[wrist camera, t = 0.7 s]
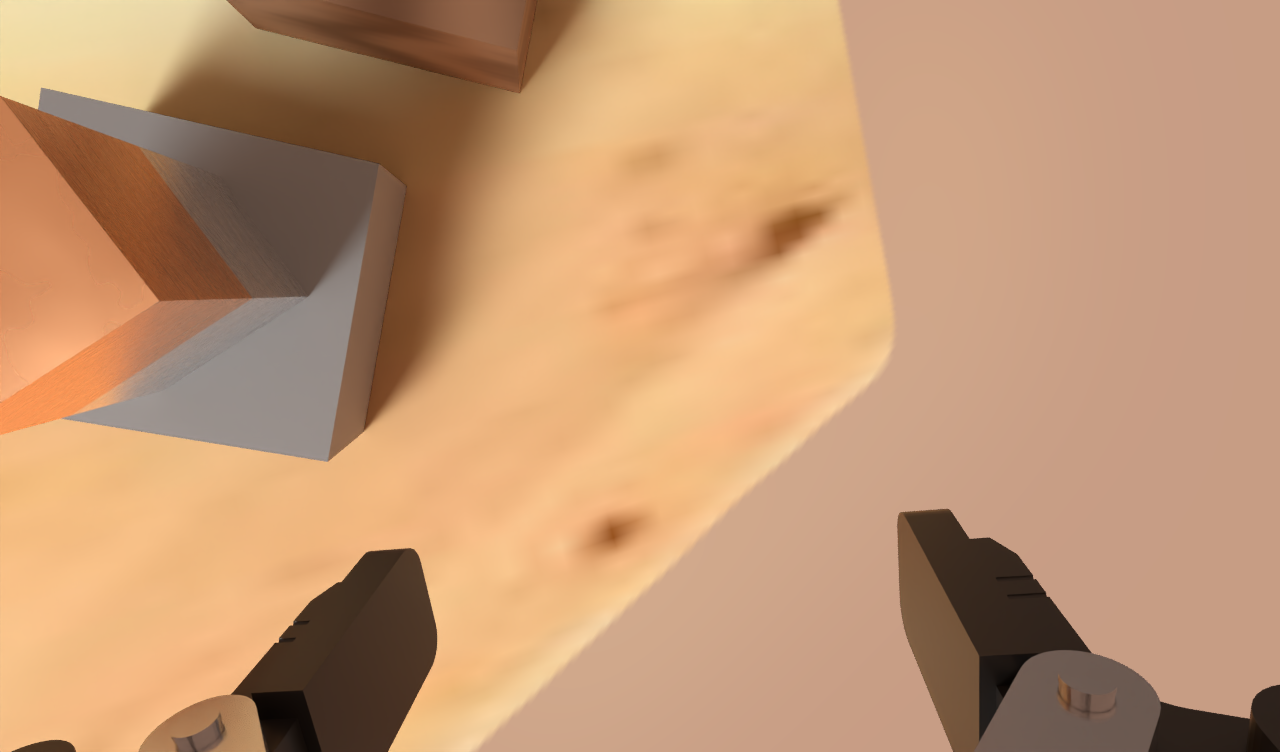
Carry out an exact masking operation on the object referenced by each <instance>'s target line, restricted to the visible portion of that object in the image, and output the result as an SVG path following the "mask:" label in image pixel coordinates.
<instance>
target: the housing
mask: <svg viewBox="0 0 1280 752" xmlns="http://www.w3.org/2000/svg"><path fill="white" fill-rule="evenodd" d="M307 297H308V295H307V294H306V293H305V291H304V290H303V289H302V287H301V286H300V285H299V283H298V282H297V280H296V279H295V278H294V276H293V275H292V274H291V272H290V271H289V270H288V268H287V267H286V266H285V264H284V263H283V261H282V260H281V259H280V257H279V256H278V255H277V253H276V252H275V251H274V249H273V248H272V247H271V245H270V244H269V242H268V241H267V240H266V238H265V237H264V236H263V234H262V233H261V232H260V230H259V229H258V228H257V226H256V225H255V223H254V222H253V221H252V219H251V218H250V217H249V215H248V214H247V213H246V211H245V210H244V209H243V207H242V206H241V204H240V203H239V202H238V200H237V199H236V198H235V196H234V195H233V194H232V192H231V191H230V190H229V188H228V187H227V185H226V184H225V183H224V181H223V180H222V179H221V177H220V176H219V175H216V174H213V173H210V172H208V171H205V170H202V169H199V168H197V167H194V166H191V165H188V164H186V163H183V162H180V161H177V160H175V159H172V158H169V157H166V156H164V155H161V154H158V153H155V152H153V151H150V150H147V149H144V148H142V147H139V146H136V145H133V144H131V143H128V142H125V141H122V140H120V139H117V138H114V137H111V136H109V135H106V134H103V133H100V132H98V131H95V130H92V129H89V128H87V127H84V126H81V125H78V124H76V123H73V122H70V121H67V120H65V119H62V118H59V117H57V116H54V115H51V114H48V113H46V112H43V111H40V110H37V109H35V108H32V107H29V106H26V105H24V104H21V103H18V102H15V101H13V100H10V99H7V98H4V97H2V96H0V435H1V434H5V433H9V432H12V431H16V430H20V429H23V428H27V427H31V426H34V425H38V424H42V423H45V422H49V421H53V420H56V419H60V418H64V417H67V416H71V415H75V414H79V413H82V412H86V411H90V410H93V409H97V408H101V407H104V406H108V405H112V404H115V403H119V402H123V401H126V400H130V399H134V398H137V397H141V396H145V395H148V394H152V393H156V392H159V391H163V390H165V389H167V388H168V387H170V386H172V385H173V384H175V383H176V382H178V381H179V380H181V379H182V378H184V377H185V376H187V375H189V374H190V373H192V372H193V371H195V370H196V369H198V368H199V367H201V366H202V365H204V364H205V363H207V362H209V361H210V360H212V359H213V358H215V357H216V356H218V355H219V354H221V353H222V352H224V351H225V350H227V349H229V348H230V347H232V346H233V345H235V344H236V343H238V342H239V341H241V340H242V339H244V338H245V337H247V336H249V335H250V334H252V333H253V332H255V331H256V330H258V329H259V328H261V327H262V326H264V325H265V324H267V323H269V322H270V321H272V320H273V319H275V318H276V317H278V316H279V315H281V314H282V313H284V312H285V311H287V310H289V309H290V308H292V307H293V306H295V305H296V304H298V303H299V302H301V301H302V300H304V299H305V298H307Z"/></svg>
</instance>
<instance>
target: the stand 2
mask: <svg viewBox="0 0 1280 752" xmlns="http://www.w3.org/2000/svg"><path fill="white" fill-rule="evenodd" d="M227 1H228V2H229V3H230V4H231V5H232V6H233V7H234V8H235V9H236V10H237V11H238V12H239V13H240V14H242V15H243V16H244V17H245V18H246V19H247V20H248V21H249V22H250V23H251V24H252V25H253V26H254V27H255V28H258V29H262V30H266V31H270V32H274V33H278V34H282V35H286V36H290V37H294V38H298V39H302V40H306V41H310V42H314V43H318V44H322V45H326V46H331V47H335V48H339V49H343V50H347V51H351V52H355V53H359V54H363V55H367V56H371V57H375V58H379V59H383V60H387V61H391V62H395V63H399V64H403V65H408V66H412V67H416V68H420V69H424V70H428V71H432V72H436V73H440V74H444V75H448V76H452V77H456V78H460V79H464V80H468V81H472V82H476V83H480V84H484V85H489V86H493V87H497V88H501V89H505V90H509V91H513V92H517V93H520V89H521V84H522V79H523V73H524V68H525V62H526V57H527V52H528V46H529V41H530V36H531V30H532V25H533V20H534V14H535V9H536V3H537V0H227Z"/></svg>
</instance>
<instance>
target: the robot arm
mask: <svg viewBox="0 0 1280 752" xmlns="http://www.w3.org/2000/svg"><path fill="white" fill-rule="evenodd" d="M897 528H898V555H899V556H898V558H899V586H900V587H899V588H900V606H901V613H902V619H903V624H904V629H905V632H906V636H907V639H908V642H909V644H910V647H911V649H912V651H913V654H914V656H915V659H916V661H917V664H918V666H919V668H920V671H921V674H922V676H923V678H924V681H925V683H926V685H927V688H928V690H929V693H930V696H931V698H932V701H933V703H934V705H935V708H936V710H937V712H938V715H939V718H940V720H941V722H942V725H943V727H944V730H945V733H946V735H947V737H948V740H949V742H950V745H951V747H952V750H953V752H1280V685H1276V686H1271V687H1269V688H1266V689H1264V690H1262V691H1261V692H1259V693H1258V694H1257V695H1256V696H1255V698H1254V699H1253V702H1252V706H1251V714H1250V719H1247V718H1240V717H1235V716H1229V715H1223V714H1217V713H1211V712H1205V711H1199V710H1193V709H1187V708H1182V707H1178V706H1174V705H1170V704H1167V703H1163V702H1160V700H1159V698H1158V695H1157V693H1156V692H1155V690H1154V689H1153V687H1152V686H1151V685H1150V684H1149V683H1148V682H1147V681H1146V680H1145V679H1144V678H1143V677H1142V676H1140V675H1139V674H1138V673H1136V672H1135V671H1133V670H1132V669H1130V668H1128V667H1127V666H1125V665H1123V664H1121V663H1119V662H1116V661H1114V660H1112V659H1109V658H1106V657H1103V656H1100V655H1096V654H1093V653H1091V651H1090V650H1089V649H1088V648H1087V646H1086V645H1085V644H1084V642H1083V641H1082V640H1081V638H1080V637H1079V636H1078V634H1077V633H1076V632H1075V630H1074V629H1073V628H1072V626H1071V625H1070V624H1069V622H1068V621H1067V620H1066V618H1065V617H1064V616H1063V614H1062V613H1061V612H1060V611H1059V609H1058V608H1057V606H1056V605H1055V604H1054V603H1053V601H1052V600H1051V599H1050V597H1047V596H1046V592H1045V591H1044V589H1043V588H1042V587H1041V585H1040V584H1039V583H1038V581H1037V580H1036V579H1033V575H1032V573H1031V572H1030V571H1029V569H1028V568H1027V567H1026V565H1025V564H1024V563H1023V562H1022V560H1021V559H1020V557H1019V556H1018V555H1017V554H1016V553H1014V552H1012V551H1011V550H1009V549H1008V548H1006V547H1004V546H1002V545H1001V544H999V543H998V542H996V541H994V540H993V539H991V538H977V539H969V537H968V536H967V534H966V533H965V531H964V530H963V529H962V527H961V525H960V524H959V522H958V521H957V519H956V518H955V516H954V515H953V513H952V512H951V511H950V510H949V509H938V510H926V511H912V512H901V513H899V516H898V524H897ZM293 622H294V624H293V626H289V627H288V629H287V630H286V631H285V632H284V633H283V634H282V636H281V637H280V638H279V643H275V644H274V645H273V646H272V647H271V648H270V650H269V651H268V652H267V653H266V654H265V655H264V657H263V658H262V659H261V660H260V661H259V663H258V664H257V665H256V666H255V667H254V668H253V670H252V671H251V672H250V673H249V674H248V675H247V677H246V678H245V679H244V680H243V681H242V682H241V684H240V685H239V686H238V687H237V688H236V689H235V691H234V692H233V693H232V694H231V695H223V696H218V697H214V698H210V699H207V700H204V701H201V702H198V703H196V704H194V705H192V706H189V707H187V708H185V709H183V710H182V711H180V712H178V713H176V714H175V715H173V716H172V717H170V718H169V719H167V720H166V721H165V722H163V723H162V724H161V725H159V726H158V727H157V728H156V729H155V730H154V731H153V732H152V733H151V734H150V735H149V736H148V737H147V738H146V739H145V741H144V742H143V744H142V745H141V747H140V749H139V752H388V750H389V748H390V746H391V745H392V743H393V741H394V739H395V737H396V735H397V733H398V731H399V729H400V727H401V725H402V723H403V721H404V719H405V717H406V716H407V714H408V712H409V710H410V708H411V706H412V704H413V702H414V700H415V698H416V696H417V694H418V692H419V690H420V688H421V687H422V685H423V683H424V681H425V679H426V677H427V675H428V673H429V671H430V669H431V667H432V665H433V662H434V659H435V655H436V649H437V629H436V624H435V620H434V615H433V611H432V607H431V603H430V599H429V595H428V590H427V586H426V582H425V578H424V574H423V570H422V565H421V562H420V558H419V556H418V554H417V552H416V551H415V550H414V549H411V548H407V549H394V550H380V551H369V552H367V553H366V554H365V555H364V556H363V557H362V558H361V559H360V560H359V562H358V563H357V564H356V565H355V566H354V568H353V569H352V570H351V571H350V573H349V574H348V575H347V576H346V577H345V579H344V580H343V581H342V582H338V583H336V584H335V585H333V586H332V587H330V588H329V589H328V590H326V591H325V592H323V593H322V594H320V595H319V596H317V597H316V598H315V599H313V600H312V601H311V602H310V603H309V604H308V605H307V606H306V607H305V609H304V610H303V611H302V612H301V613H300V614H299V616H298V617H297V618H296V619H295V620H294V621H293ZM12 752H76V750H75V748H74V746H73V745H72V744H71V743H69V742H67V741H62V740H49V741H43V742H39V743H35V744H31V745H28V746H25V747H22V748H19V749H17V750H15V751H12Z"/></svg>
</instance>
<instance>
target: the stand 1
mask: <svg viewBox="0 0 1280 752" xmlns="http://www.w3.org/2000/svg"><path fill="white" fill-rule="evenodd" d="M38 110H40V111H43V112H46V113H48V114H51V115H54V116H57V117H59V118H62V119H65V120H67V121H70V122H73V123H76V124H78V125H81V126H84V127H87V128H89V129H92V130H95V131H98V132H100V133H103V134H106V135H109V136H111V137H114V138H117V139H120V140H122V141H125V142H128V143H131V144H133V145H136V146H139V147H142V148H144V149H147V150H150V151H153V152H155V153H158V154H161V155H164V156H166V157H169V158H172V159H175V160H177V161H180V162H183V163H186V164H188V165H191V166H194V167H197V168H199V169H202V170H205V171H208V172H210V173H213V174H216V175H219V176H220V177H221V179H222V180H223V181H224V183H225V184H226V185H227V187H228V188H229V190H230V191H231V192H232V194H233V195H234V196H235V198H236V199H237V200H238V202H239V203H240V204H241V206H242V207H243V209H244V210H245V211H246V213H247V214H248V215H249V217H250V218H251V219H252V221H253V222H254V223H255V225H256V226H257V228H258V229H259V230H260V232H261V233H262V234H263V236H264V237H265V238H266V240H267V241H268V242H269V244H270V245H271V247H272V248H273V249H274V251H275V252H276V253H277V255H278V256H279V257H280V259H281V260H282V261H283V263H284V264H285V266H286V267H287V268H288V270H289V271H290V272H291V274H292V275H293V276H294V278H295V279H296V280H297V282H298V283H299V285H300V286H301V287H302V289H303V290H304V291H305V293H306V294H307V295H308V297H307V298H305V299H304V300H302V301H301V302H299V303H298V304H296V305H295V306H293V307H292V308H290V309H289V310H287V311H285V312H284V313H282V314H281V315H279V316H278V317H276V318H275V319H273V320H272V321H270V322H269V323H267V324H265V325H264V326H262V327H261V328H259V329H258V330H256V331H255V332H253V333H252V334H250V335H249V336H247V337H245V338H244V339H242V340H241V341H239V342H238V343H236V344H235V345H233V346H232V347H230V348H229V349H227V350H225V351H224V352H222V353H221V354H219V355H218V356H216V357H215V358H213V359H212V360H210V361H209V362H207V363H205V364H204V365H202V366H201V367H199V368H198V369H196V370H195V371H193V372H192V373H190V374H189V375H187V376H185V377H184V378H182V379H181V380H179V381H178V382H176V383H175V384H173V385H172V386H170V387H168V388H167V389H165V390H163V391H159V392H156V393H152V394H148V395H145V396H141V397H137V398H134V399H130V400H126V401H123V402H119V403H115V404H112V405H108V406H104V407H101V408H97V409H93V410H90V411H86V412H82V413H79V414H75V415H71V416H67V417H64V418H61V419H67V420H73V421H80V422H86V423H92V424H98V425H104V426H110V427H116V428H123V429H129V430H135V431H141V432H147V433H153V434H160V435H166V436H172V437H178V438H184V439H190V440H197V441H203V442H209V443H215V444H221V445H227V446H234V447H240V448H246V449H252V450H258V451H264V452H271V453H277V454H283V455H289V456H295V457H301V458H308V459H314V460H320V461H326V462H328V461H329V460H330V459H332V458H333V457H334V456H335V455H336V454H338V453H339V452H340V451H341V450H342V449H344V448H345V447H346V446H347V445H348V444H350V443H351V442H352V441H353V440H354V439H355V438H357V437H358V436H359V435H360V434H361V433H363V432H364V427H365V421H366V415H367V410H368V404H369V398H370V393H371V387H372V381H373V375H374V370H375V364H376V358H377V353H378V347H379V341H380V336H381V330H382V324H383V319H384V313H385V307H386V301H387V296H388V290H389V284H390V279H391V273H392V267H393V262H394V256H395V250H396V245H397V239H398V233H399V227H400V222H401V216H402V210H403V205H404V199H405V193H406V188H407V186H406V185H404V184H403V183H402V182H401V181H400V180H398V179H397V178H396V177H395V176H393V175H392V174H391V173H390V172H389V171H387V170H386V169H385V168H384V167H383V166H381V165H380V164H378V163H374V162H369V161H365V160H360V159H356V158H352V157H347V156H343V155H338V154H334V153H329V152H325V151H321V150H316V149H312V148H307V147H303V146H298V145H294V144H289V143H285V142H281V141H276V140H272V139H267V138H263V137H258V136H254V135H249V134H245V133H241V132H236V131H232V130H227V129H223V128H218V127H214V126H210V125H205V124H201V123H196V122H192V121H187V120H183V119H178V118H174V117H170V116H165V115H161V114H156V113H152V112H147V111H143V110H138V109H134V108H130V107H125V106H121V105H116V104H112V103H107V102H103V101H98V100H94V99H90V98H85V97H81V96H76V95H72V94H67V93H63V92H59V91H54V90H50V89H45V88H41V93H40V100H39V108H38Z"/></svg>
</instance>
